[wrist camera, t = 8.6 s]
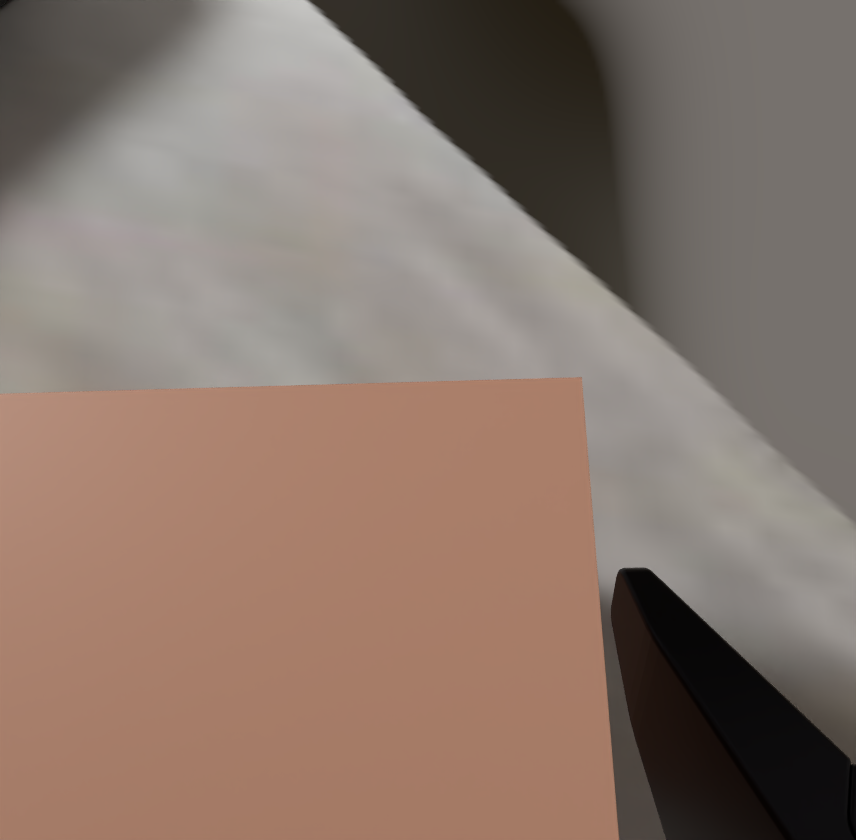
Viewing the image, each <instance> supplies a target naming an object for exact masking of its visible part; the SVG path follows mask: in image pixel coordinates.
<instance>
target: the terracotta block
mask: <svg viewBox="0 0 856 840" xmlns="http://www.w3.org/2000/svg"><path fill="white" fill-rule="evenodd" d="M0 840H619V833H618V821H617V808H616V796H615V783H614V771H613V759H612V746H611V734H610V722H609V709H608V697H607V684H606V672H605V660H604V647H603V635H602V623H601V610H600V598H599V586H598V573H597V561H596V548H595V536H594V524H593V511H592V499H591V487H590V474H589V462H588V450H587V437H586V425H585V412H584V400H583V388H582V377H577V378H542V379H507V380H472V381H436V382H401V383H366V384H330V385H295V386H260V387H225V388H189V389H154V390H119V391H83V392H48V393H13V394H0Z"/></svg>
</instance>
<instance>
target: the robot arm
mask: <svg viewBox="0 0 856 840" xmlns="http://www.w3.org/2000/svg"><path fill="white" fill-rule="evenodd" d="M611 621H612V627H613V632H614V637H615V643H616V648H617V653H618V659H619V664H620V669H621V674H622V680H623V685H624V690H625V695H626V701H627V706H628V711H629V716H630V720H631V725H632V728H633V732H634V736H635V739H636V743H637V746H638V749H639V752H640V756H641V759H642V762H643V765H644V769H645V772H646V775H647V778H648V782H649V785H650V788H651V791H652V794H653V798H654V801H655V804H656V807H657V811H658V814H659V817H660V820H661V824H662V827H663V830H664V833H665V837H666V840H856V764H852V765H851V761H850V758H849V757H848V756H847V755H845V754H844V753H843V752H842V751H841V750H840V749H839V748H838V747H837V746H836V745H835V744H834V743H833V742H832V741H831V740H830V739H829V738H828V737H826V736H825V735H824V734H823V733H822V732H821V731H820V730H819V729H818V728H817V727H816V726H815V725H814V724H813V723H812V722H811V721H810V720H808V719H807V718H806V717H805V716H804V715H803V714H802V713H801V712H800V711H799V710H798V709H797V708H796V707H795V706H794V705H793V704H792V703H791V702H789V701H788V700H787V699H786V698H785V697H784V696H783V695H782V694H781V693H780V692H779V691H778V690H777V689H776V688H775V687H774V686H773V685H772V684H770V683H769V682H768V681H767V680H766V679H765V678H764V677H763V676H762V675H761V674H760V673H759V672H758V671H757V670H756V669H755V668H754V667H753V666H751V665H750V664H749V663H748V662H747V661H746V660H745V659H744V658H743V657H742V656H741V655H740V654H739V653H738V652H737V651H736V650H735V649H733V648H732V647H731V646H730V645H729V644H728V643H727V642H726V641H725V640H724V639H723V638H722V637H721V636H720V635H719V634H718V633H717V632H716V631H714V630H713V629H712V628H711V627H710V626H709V625H708V624H707V623H706V622H705V621H704V620H703V619H702V618H701V617H700V616H699V615H698V614H697V613H695V612H694V611H693V610H692V609H691V608H690V607H689V606H688V605H687V604H686V603H685V602H684V601H683V600H682V599H681V598H680V597H679V596H677V595H676V594H675V593H674V592H673V591H672V590H671V589H670V588H669V587H668V586H667V585H666V584H665V583H664V582H663V581H662V580H661V579H660V578H658V577H657V576H656V575H655V574H654V573H653V572H652V571H651V570H649V569H647V568H622V569H620V570H619V572H618V574H617V577H616V583H615V588H614V594H613V600H612V605H611Z"/></svg>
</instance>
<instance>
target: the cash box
mask: <svg viewBox="0 0 856 840" xmlns="http://www.w3.org/2000/svg"><path fill="white" fill-rule="evenodd" d="M7 1H8V0H0V7H1V6H2V5H3V4H4V3H6V2H7Z"/></svg>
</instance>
